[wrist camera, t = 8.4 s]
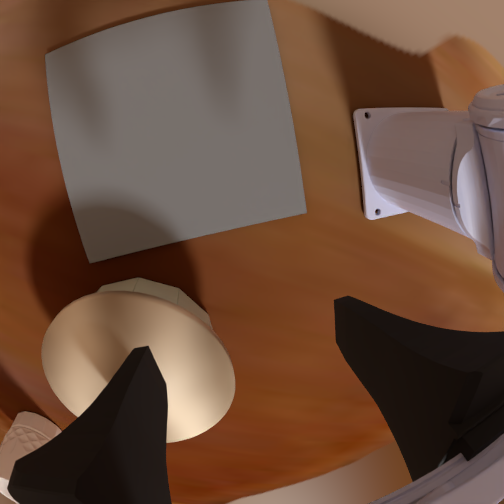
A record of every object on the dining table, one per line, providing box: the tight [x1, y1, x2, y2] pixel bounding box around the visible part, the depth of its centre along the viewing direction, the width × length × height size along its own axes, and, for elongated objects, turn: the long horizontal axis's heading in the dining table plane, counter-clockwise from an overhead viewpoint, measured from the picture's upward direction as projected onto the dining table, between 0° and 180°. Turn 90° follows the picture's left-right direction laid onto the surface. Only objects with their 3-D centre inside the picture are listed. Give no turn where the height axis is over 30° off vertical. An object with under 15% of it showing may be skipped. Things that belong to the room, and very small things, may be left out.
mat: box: [45, 0, 307, 263], centre depth 17 cm, size 15×15×1 cm
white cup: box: [0, 411, 62, 504], centre depth 20 cm, size 8×8×10 cm
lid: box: [42, 291, 235, 443], centre depth 16 cm, size 13×13×5 cm
